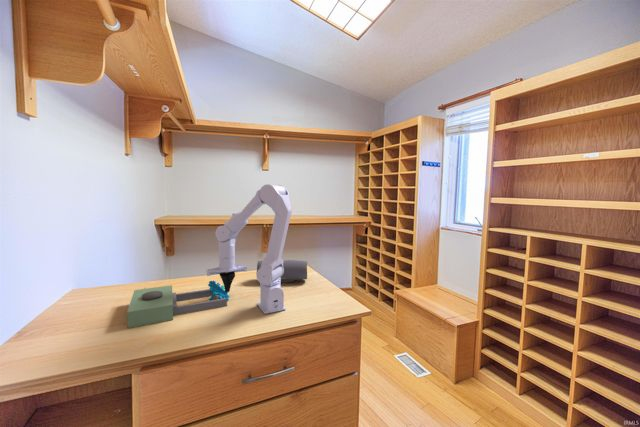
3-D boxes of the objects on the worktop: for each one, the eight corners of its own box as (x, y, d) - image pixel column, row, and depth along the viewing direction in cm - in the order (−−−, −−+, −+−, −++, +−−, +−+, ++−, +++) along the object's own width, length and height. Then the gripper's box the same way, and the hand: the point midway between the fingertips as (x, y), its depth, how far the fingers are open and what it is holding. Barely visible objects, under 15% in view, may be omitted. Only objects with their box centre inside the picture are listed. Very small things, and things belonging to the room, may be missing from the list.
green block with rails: (228, 309, 96) (228, 292, 95) (127, 328, 81) (126, 308, 81) (219, 290, 113) (219, 276, 112) (134, 303, 99) (134, 287, 98)
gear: (226, 301, 98) (207, 282, 98) (214, 313, 98) (194, 293, 98) (234, 294, 109) (217, 276, 109) (223, 305, 109) (206, 287, 109)
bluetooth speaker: (306, 278, 132) (307, 257, 131) (307, 284, 123) (307, 263, 122) (259, 278, 130) (259, 257, 130) (256, 284, 121) (256, 262, 120)
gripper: (243, 252, 111) (243, 285, 112) (205, 256, 104) (205, 290, 105) (248, 256, 104) (248, 290, 106) (207, 260, 97) (208, 297, 99)
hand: (227, 291), depth 105 cm, fingers closed
